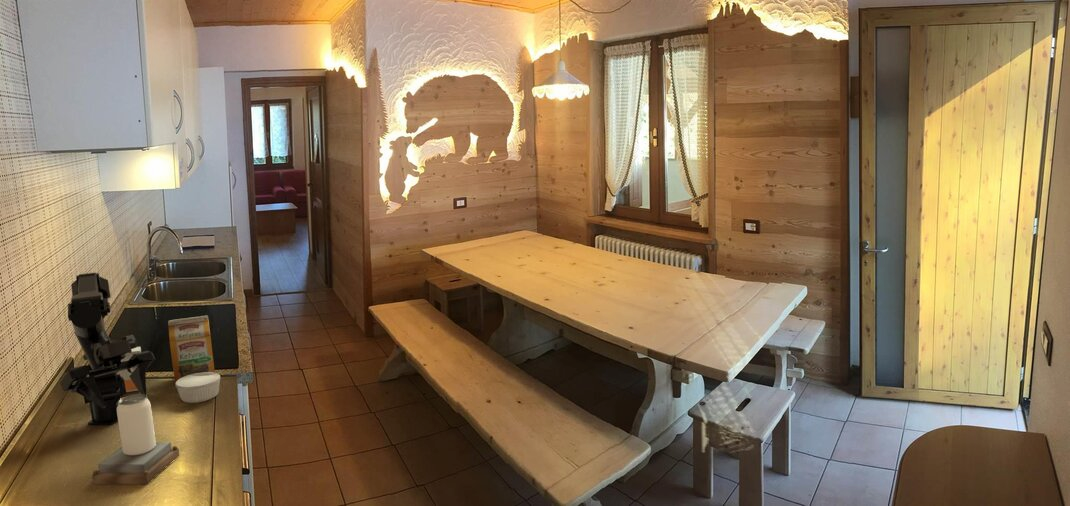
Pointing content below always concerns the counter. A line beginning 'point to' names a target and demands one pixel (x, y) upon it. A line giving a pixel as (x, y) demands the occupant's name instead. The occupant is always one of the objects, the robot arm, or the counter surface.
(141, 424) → the can
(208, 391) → the ramekin
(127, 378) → the skincare box
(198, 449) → the counter surface
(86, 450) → the counter surface
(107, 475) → the whetstone on wooden base
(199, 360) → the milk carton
